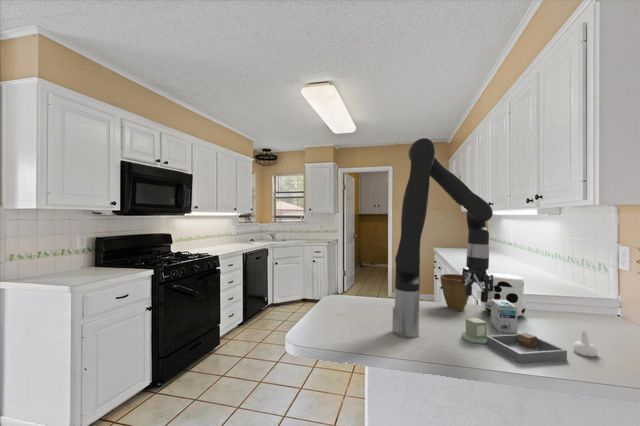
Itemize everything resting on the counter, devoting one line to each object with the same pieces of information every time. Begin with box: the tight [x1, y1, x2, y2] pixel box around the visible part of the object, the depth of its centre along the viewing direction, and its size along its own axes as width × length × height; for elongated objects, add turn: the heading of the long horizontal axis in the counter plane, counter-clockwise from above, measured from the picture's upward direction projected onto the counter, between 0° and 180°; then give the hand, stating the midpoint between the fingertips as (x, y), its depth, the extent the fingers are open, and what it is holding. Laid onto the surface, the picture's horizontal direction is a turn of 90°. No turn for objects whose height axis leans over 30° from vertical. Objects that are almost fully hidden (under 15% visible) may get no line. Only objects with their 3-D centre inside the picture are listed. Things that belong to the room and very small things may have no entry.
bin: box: [486, 333, 568, 364], centre depth 105 cm, size 18×15×3 cm
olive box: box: [465, 317, 488, 339], centre depth 116 cm, size 5×5×6 cm
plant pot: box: [439, 273, 470, 311], centre depth 155 cm, size 15×15×16 cm
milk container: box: [482, 273, 526, 318], centre depth 147 cm, size 17×17×18 cm
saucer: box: [461, 331, 488, 345], centre depth 116 cm, size 10×10×1 cm
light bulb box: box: [490, 299, 518, 334], centre depth 127 cm, size 11×7×11 cm, turn 168°
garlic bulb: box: [572, 330, 599, 358], centre depth 105 cm, size 6×6×8 cm
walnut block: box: [517, 332, 538, 350], centre depth 110 cm, size 4×4×4 cm
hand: (476, 298), depth 116 cm, fingers open, 8 cm apart
